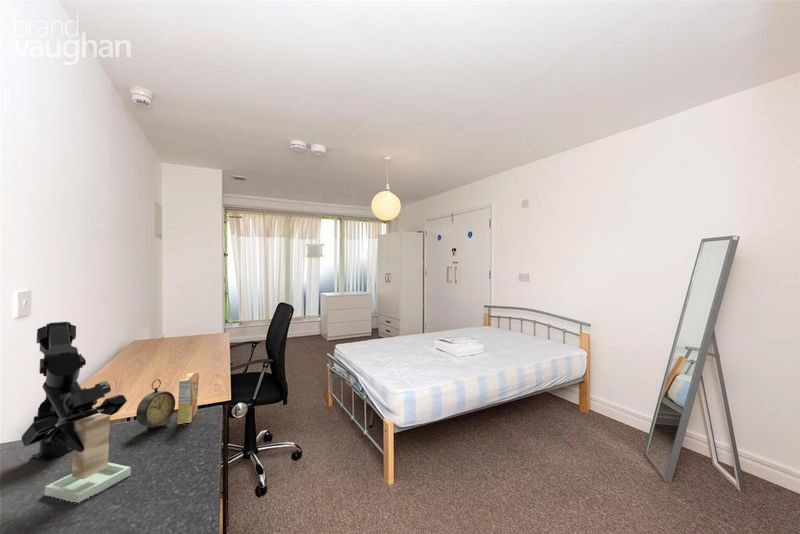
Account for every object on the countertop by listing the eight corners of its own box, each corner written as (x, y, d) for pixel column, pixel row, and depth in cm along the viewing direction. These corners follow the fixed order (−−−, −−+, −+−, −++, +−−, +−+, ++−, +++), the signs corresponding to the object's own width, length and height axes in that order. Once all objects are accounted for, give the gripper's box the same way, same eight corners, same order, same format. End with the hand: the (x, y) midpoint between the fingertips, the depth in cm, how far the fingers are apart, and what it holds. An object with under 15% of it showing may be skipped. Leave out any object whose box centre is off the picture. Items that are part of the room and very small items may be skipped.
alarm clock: (145, 436, 102) (147, 385, 103) (131, 434, 103) (133, 383, 104) (175, 421, 113) (177, 375, 113) (163, 419, 114) (164, 374, 114)
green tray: (44, 495, 74) (45, 486, 74) (99, 468, 85) (99, 460, 85) (78, 504, 72) (78, 495, 72) (130, 475, 82) (130, 467, 82)
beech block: (71, 476, 77) (74, 421, 77) (96, 464, 81) (98, 413, 82) (83, 479, 76) (86, 423, 76) (107, 467, 80) (110, 415, 81)
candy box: (184, 415, 118) (186, 373, 118) (197, 413, 119) (199, 372, 120) (176, 425, 110) (178, 380, 110) (190, 424, 111) (192, 379, 111)
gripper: (32, 386, 71) (64, 444, 68) (123, 364, 89) (152, 409, 86) (7, 417, 73) (37, 475, 70) (101, 390, 91) (129, 434, 88)
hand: (95, 445), depth 78 cm, fingers closed on beech block, 5 cm apart
